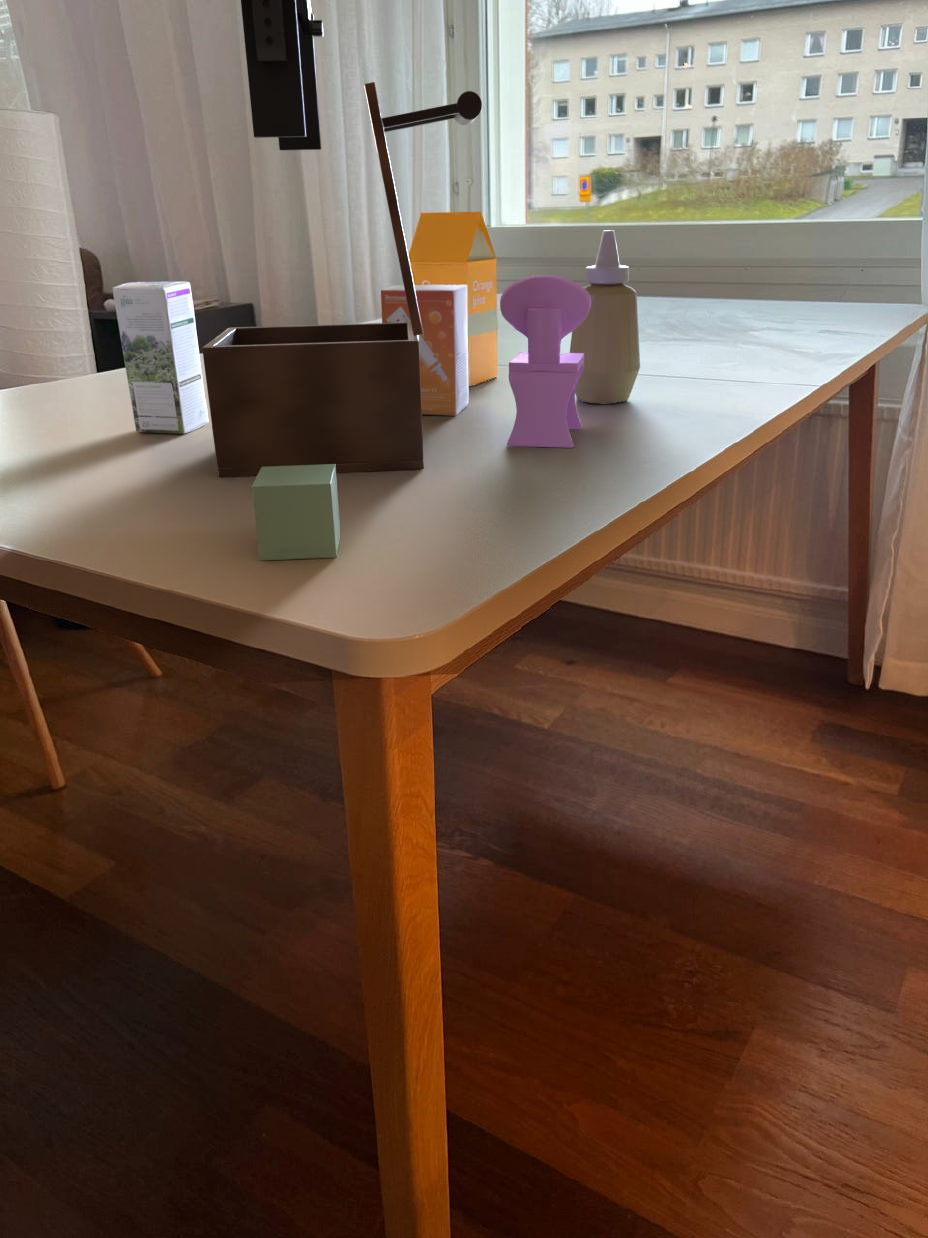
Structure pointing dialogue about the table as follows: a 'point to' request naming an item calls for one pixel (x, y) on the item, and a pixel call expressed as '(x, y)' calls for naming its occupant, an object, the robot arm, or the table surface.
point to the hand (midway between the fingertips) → (291, 144)
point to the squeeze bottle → (608, 330)
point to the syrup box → (161, 356)
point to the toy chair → (545, 358)
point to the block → (296, 512)
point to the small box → (437, 343)
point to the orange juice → (462, 278)
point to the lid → (460, 111)
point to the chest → (315, 397)
